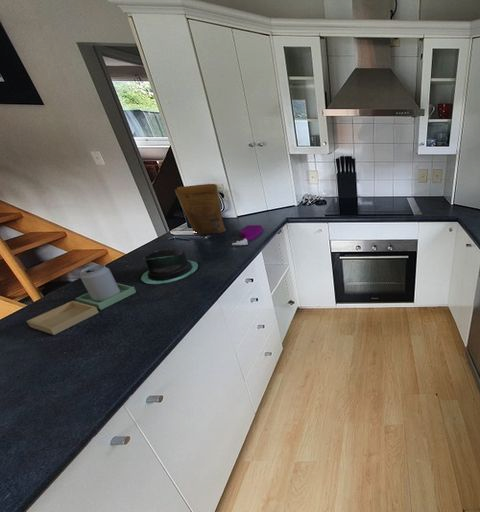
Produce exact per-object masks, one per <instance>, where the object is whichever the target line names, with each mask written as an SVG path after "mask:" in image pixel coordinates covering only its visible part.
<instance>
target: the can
mask: <svg viewBox="0 0 480 512" xmlns="http://www.w3.org/2000/svg"><path fill="white" fill-rule="evenodd" d="M79 272H80V275H79V278H80V280H81V282H82V283H83V285H84V287H85V289H86V291H87V293H89V294H90V296H91V298H92V300H94V301H98V302H102V301H104V300H106V299H108V298H110V297H112V296H114V295H116V294H118V293H120V290H119V288H118V286H117V284H116V283H117V282H116V280H115V277H114V275H113V273H112V271H111V269H110V268H109V267H106V265H105V264H95V265H94V264H93V265H90V266H88V267H87V266H86V267H85V268H83V269H81V270H80V271H79Z"/></svg>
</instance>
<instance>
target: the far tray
mask: <svg viewBox="0 0 480 512" xmlns="http://www.w3.org/2000/svg"><path fill="white" fill-rule="evenodd" d="M116 284H117V286H118V288H119V290H120V293H118V294H116V295H114V296H112V297H110V298H108V299H106V300H104V301H102V302H98V301H94V300H92V298H91V296H90V294H89V293H88V292H86V293H84V294H82V295H79V296H78V297H75V301H76V302H80V303H84V304H87V305H91V306H94V307H96V308H97V310H98V311H102V310H103V309H106V308H108V307H110V306H112V305H114V304H116V303H118V302H120V301H122V300H123V299H126V298H128V297H130V296H132V295H134V294H135V293H137V291H136V288H135V286H131V285H126V284H123V283H119V282H116Z"/></svg>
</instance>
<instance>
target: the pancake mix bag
mask: <svg viewBox="0 0 480 512" xmlns="http://www.w3.org/2000/svg"><path fill="white" fill-rule="evenodd" d="M174 192H175V195H176V197H177V199H178V201H179V205H180V206H181V208H182V210H183V212H184V214H185V216H186V218H187V221H188V223H189V224H190V227H191V228H192V232H193V231H195V232H197V233H192V234H193V235H195V236H205V235H206V236H207V235H214V234H222V233H224V232H226V231H227V230H226V228H225V225H224V222H223V215H222V210H221V201H220V196H219V189H218V185H217V184H215V183H206V184H205V183H204V184H195V185H186V186H177V187H176V188H175V189H174Z"/></svg>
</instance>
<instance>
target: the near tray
mask: <svg viewBox="0 0 480 512" xmlns="http://www.w3.org/2000/svg"><path fill="white" fill-rule="evenodd" d="M97 314H100V312H99V309H97V308H96V307H94V306H91V305H87V304H84V303H80V302H77V300H71V301H69V302H66V303H65V304H62V305H60V306H58V307H55V308H53V309H50V310H48V311H46V312H44V313H41V314H39V315H37V316H34V317H32V318H30V319H27V320H26V323H27V324H28V326H29V327H30V328H33V329H35V330H38V331H41V332H44V333H47V334H50V335H52V336H55V335H57V334H59V333H62V332H63V331H66V330H67V329H69V328H71V327H73V326H76V325H78V324H79V323H81V322H84V321H85V320H88V319H89V318H91V317H93V316H95V315H97Z"/></svg>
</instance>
